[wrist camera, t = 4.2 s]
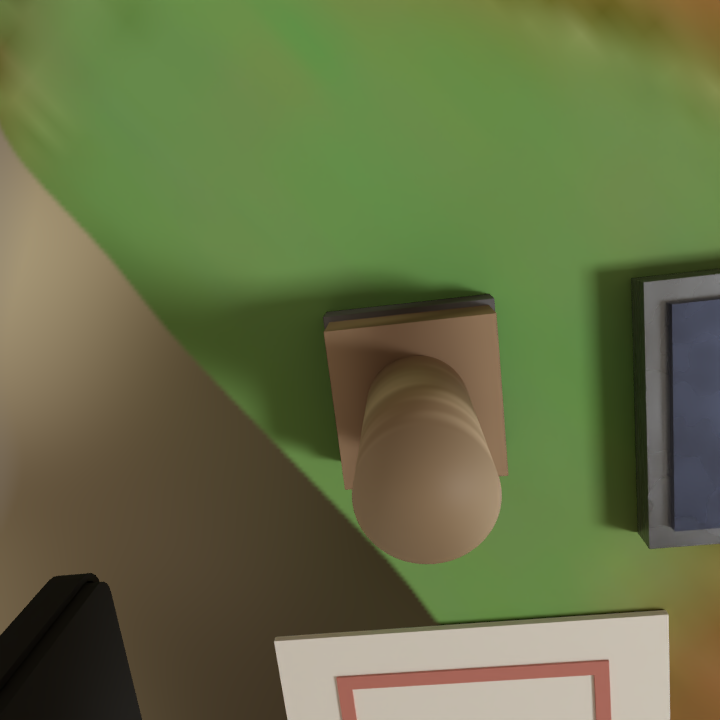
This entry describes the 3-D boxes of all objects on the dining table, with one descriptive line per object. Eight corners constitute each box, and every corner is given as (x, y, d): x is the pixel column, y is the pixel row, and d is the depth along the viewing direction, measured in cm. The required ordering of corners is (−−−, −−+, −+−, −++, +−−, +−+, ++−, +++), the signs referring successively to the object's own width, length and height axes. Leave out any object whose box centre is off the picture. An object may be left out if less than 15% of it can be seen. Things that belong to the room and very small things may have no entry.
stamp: (489, 293, 24) (552, 356, 14) (501, 448, 25) (566, 603, 15) (326, 311, 24) (277, 383, 14) (347, 462, 25) (314, 621, 16)
